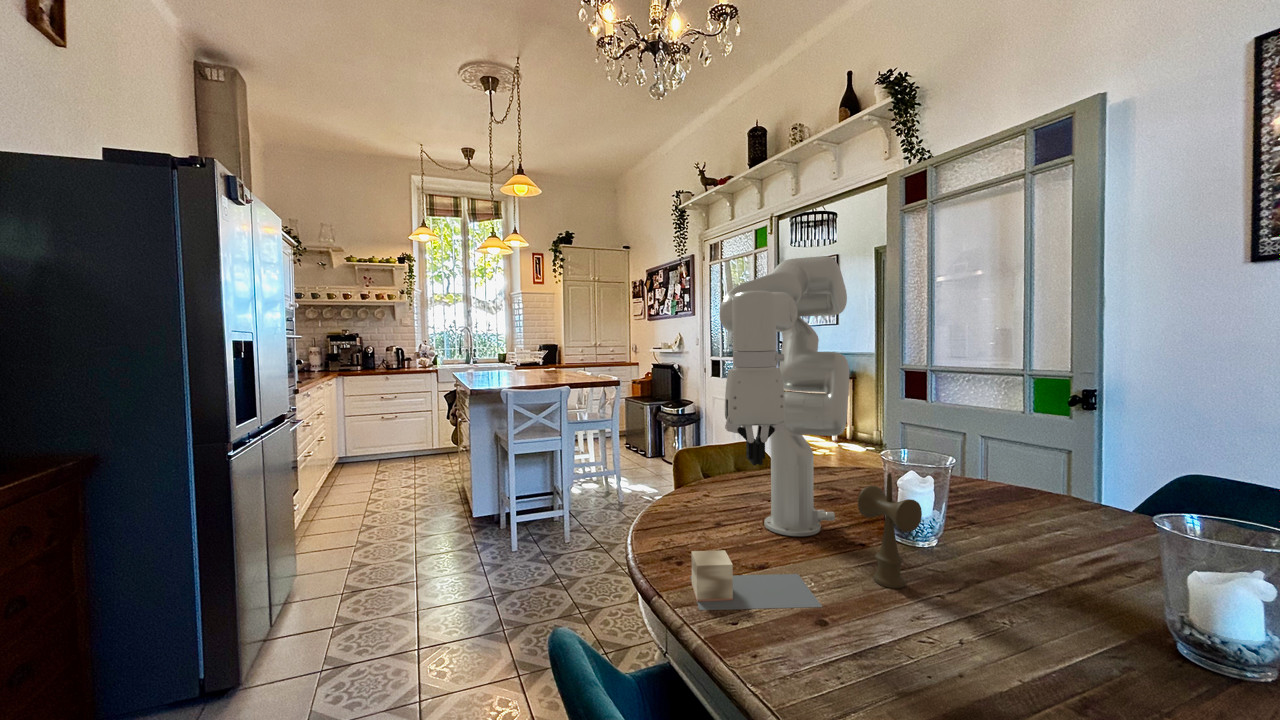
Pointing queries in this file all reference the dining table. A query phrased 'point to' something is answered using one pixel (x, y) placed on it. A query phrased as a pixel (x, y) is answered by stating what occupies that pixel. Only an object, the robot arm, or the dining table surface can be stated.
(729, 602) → the slate mat
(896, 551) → the kendama
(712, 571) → the birch cube
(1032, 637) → the dining table surface
